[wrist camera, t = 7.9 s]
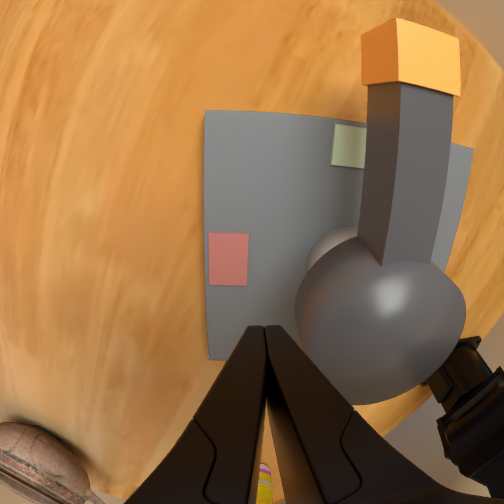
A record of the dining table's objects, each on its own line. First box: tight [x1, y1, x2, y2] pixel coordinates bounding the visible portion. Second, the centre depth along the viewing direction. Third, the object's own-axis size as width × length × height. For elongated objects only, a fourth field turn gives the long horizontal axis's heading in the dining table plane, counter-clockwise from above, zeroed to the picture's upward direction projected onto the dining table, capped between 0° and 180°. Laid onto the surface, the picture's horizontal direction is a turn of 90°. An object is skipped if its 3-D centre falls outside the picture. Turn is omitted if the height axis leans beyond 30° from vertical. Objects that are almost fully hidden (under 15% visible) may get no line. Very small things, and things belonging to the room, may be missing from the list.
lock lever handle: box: [295, 18, 466, 405], centre depth 12 cm, size 17×8×4 cm, turn 0°
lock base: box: [204, 110, 473, 360], centre depth 19 cm, size 18×18×6 cm
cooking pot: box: [0, 422, 105, 504], centre depth 29 cm, size 25×19×12 cm
